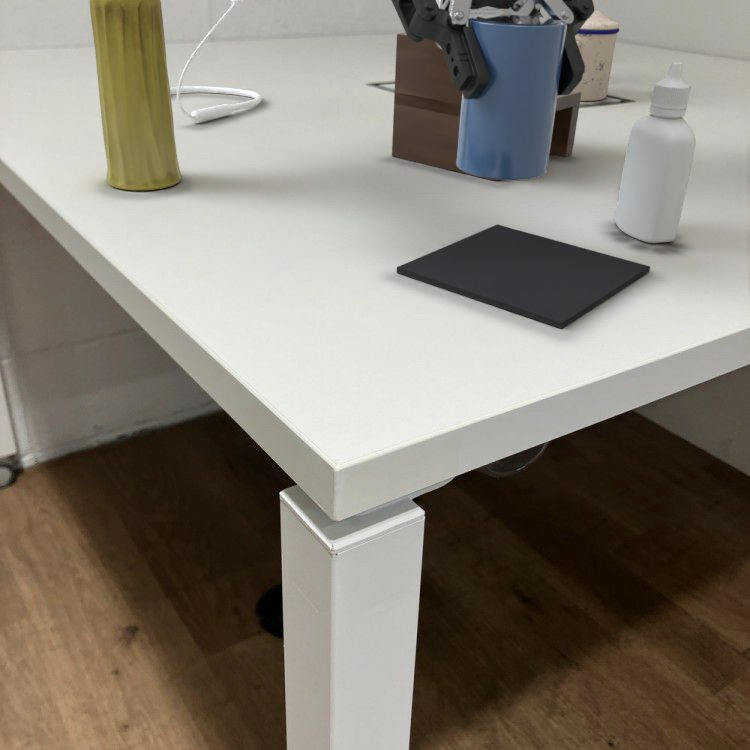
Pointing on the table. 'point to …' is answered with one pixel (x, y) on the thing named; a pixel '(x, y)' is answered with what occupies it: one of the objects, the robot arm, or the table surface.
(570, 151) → the shelf
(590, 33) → the teacup with lid
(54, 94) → the table surface
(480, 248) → the mat
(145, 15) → the vase
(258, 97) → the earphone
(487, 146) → the cup
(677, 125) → the eye dropper bottle
